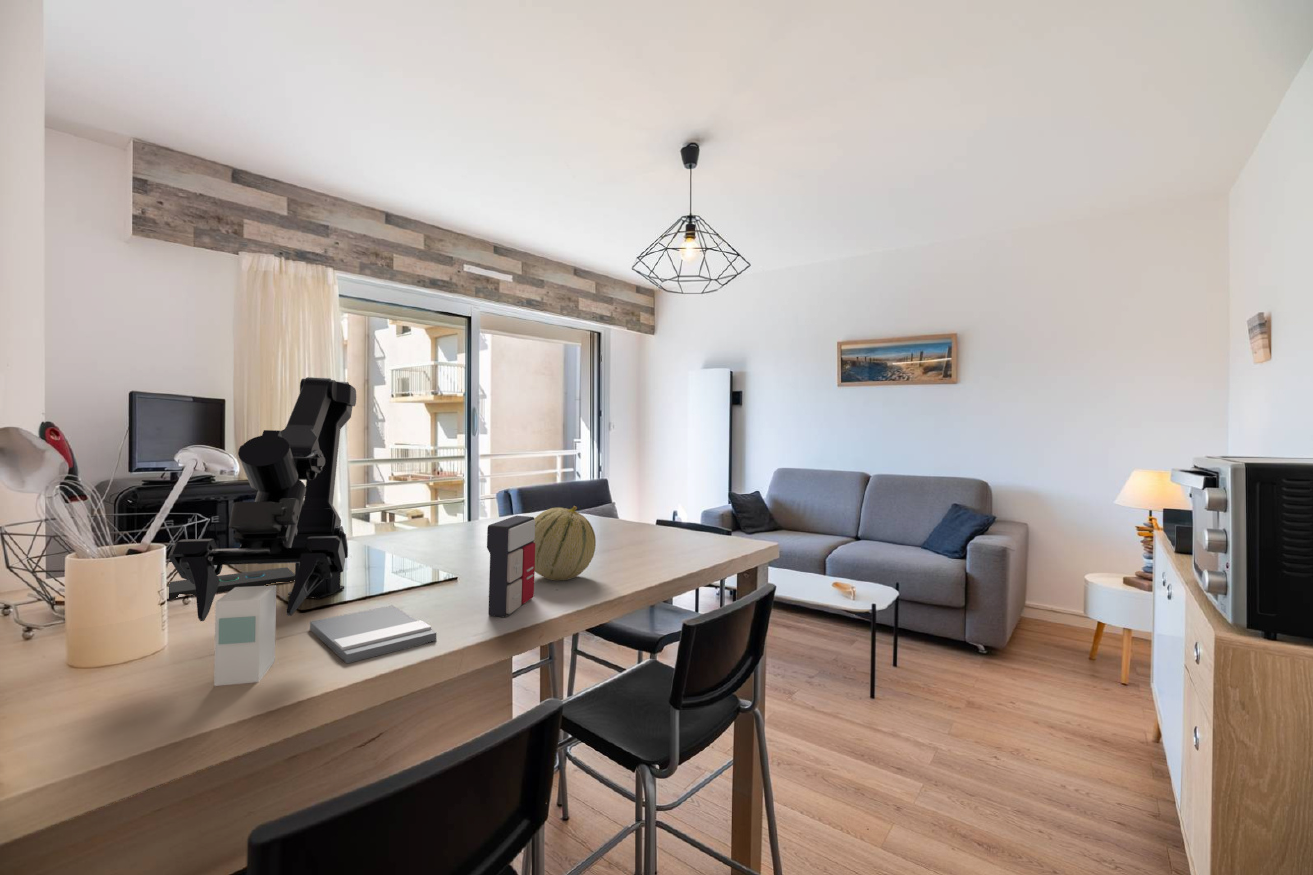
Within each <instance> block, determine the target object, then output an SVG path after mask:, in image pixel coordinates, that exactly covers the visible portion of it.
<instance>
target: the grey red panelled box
mask: <svg viewBox="0 0 1313 875" xmlns="http://www.w3.org/2000/svg"><path fill="white" fill-rule="evenodd" d="M534 518H535V517H534V516H529V515H528V516H527V515H514V516H511V517H508V518H506V519H503V520H500V521H497V522H493V523H491V524H488V526H487V528H486V529H487V533H486V534H487V535H486V549H487V551H488V553H489V577H488V578H489V579H488V580H489V582H488V585H489V586H488V609H487V610H488V616H490V617H498V618H506V617H509V615H511V614H512V613H513V612H515V611H516V610H518V609H519V608H520V607H522V606H523V605H525V604H526V603H527V602H529V601H530V600H532V599H533V598H534V597H535V573H536V572H535V543H534V539H535V520H534Z"/></svg>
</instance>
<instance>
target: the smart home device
mask: <svg viewBox="0 0 1313 875" xmlns="http://www.w3.org/2000/svg"><path fill="white" fill-rule="evenodd" d="M217 577H218V578H219V580H220V582H219V585H218V588H217V591H216V594H218V593H225V592H226V593H227V592H229V591H231V590H232V589H234V588H235V587H251V586H264V585H266V584H271V583H276V582H290V581H294V580H295V572H293V571H292V570H291V569H290V568H288V567H277V568H270V569H269V568H268V569H261V570H252V571H245V572H236V573H229V574H222V575H220V574H219V575H217ZM169 582H170V584H169V600H168V601H170V600H174V598H176V597H178V595H179V594H193V595H195V596H194V597H196V588H195V584H192V583H191V582H190V580H186V579H182V580H181V579H180V580H173V581H172V580H171V581H169ZM290 583H291V582H290Z"/></svg>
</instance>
